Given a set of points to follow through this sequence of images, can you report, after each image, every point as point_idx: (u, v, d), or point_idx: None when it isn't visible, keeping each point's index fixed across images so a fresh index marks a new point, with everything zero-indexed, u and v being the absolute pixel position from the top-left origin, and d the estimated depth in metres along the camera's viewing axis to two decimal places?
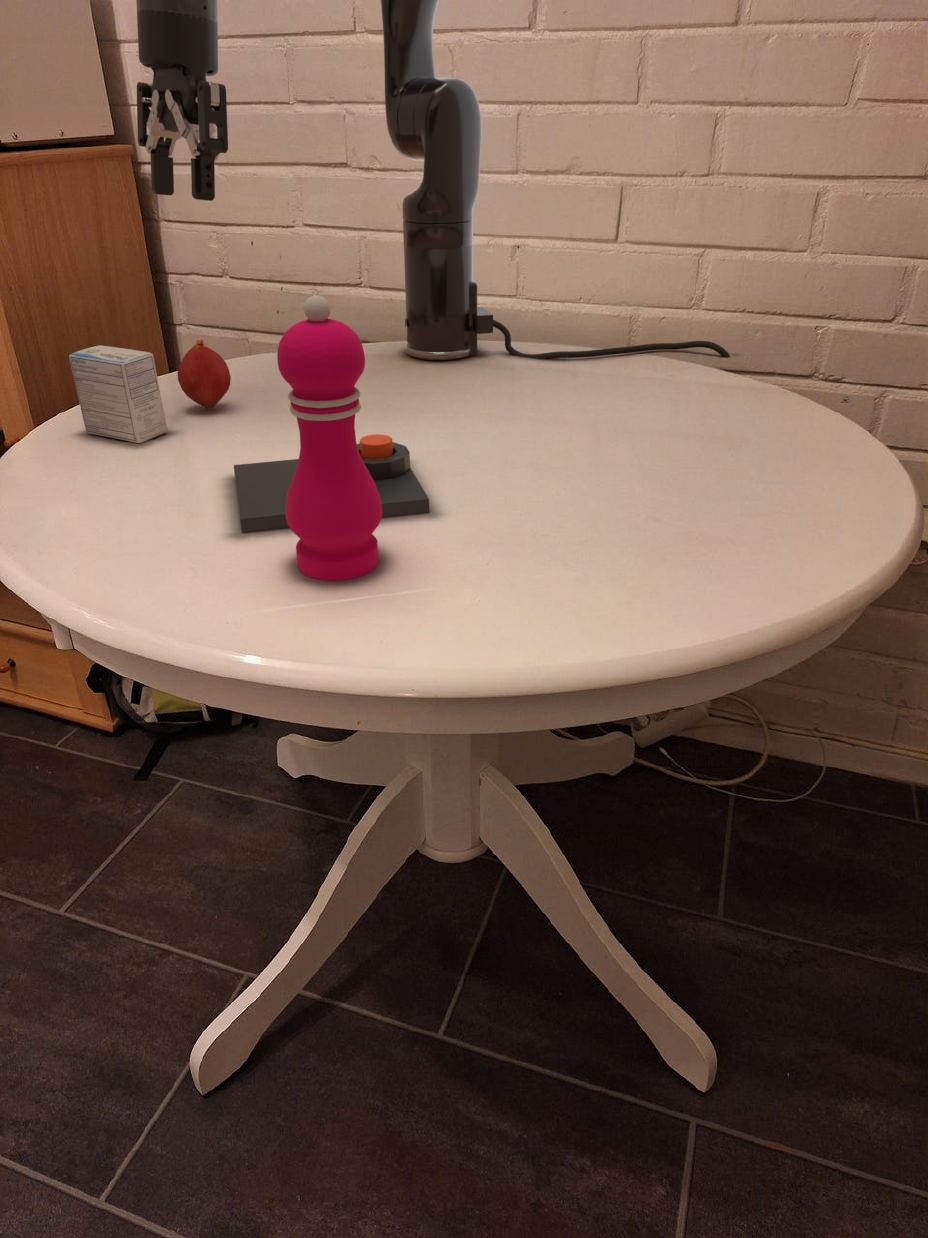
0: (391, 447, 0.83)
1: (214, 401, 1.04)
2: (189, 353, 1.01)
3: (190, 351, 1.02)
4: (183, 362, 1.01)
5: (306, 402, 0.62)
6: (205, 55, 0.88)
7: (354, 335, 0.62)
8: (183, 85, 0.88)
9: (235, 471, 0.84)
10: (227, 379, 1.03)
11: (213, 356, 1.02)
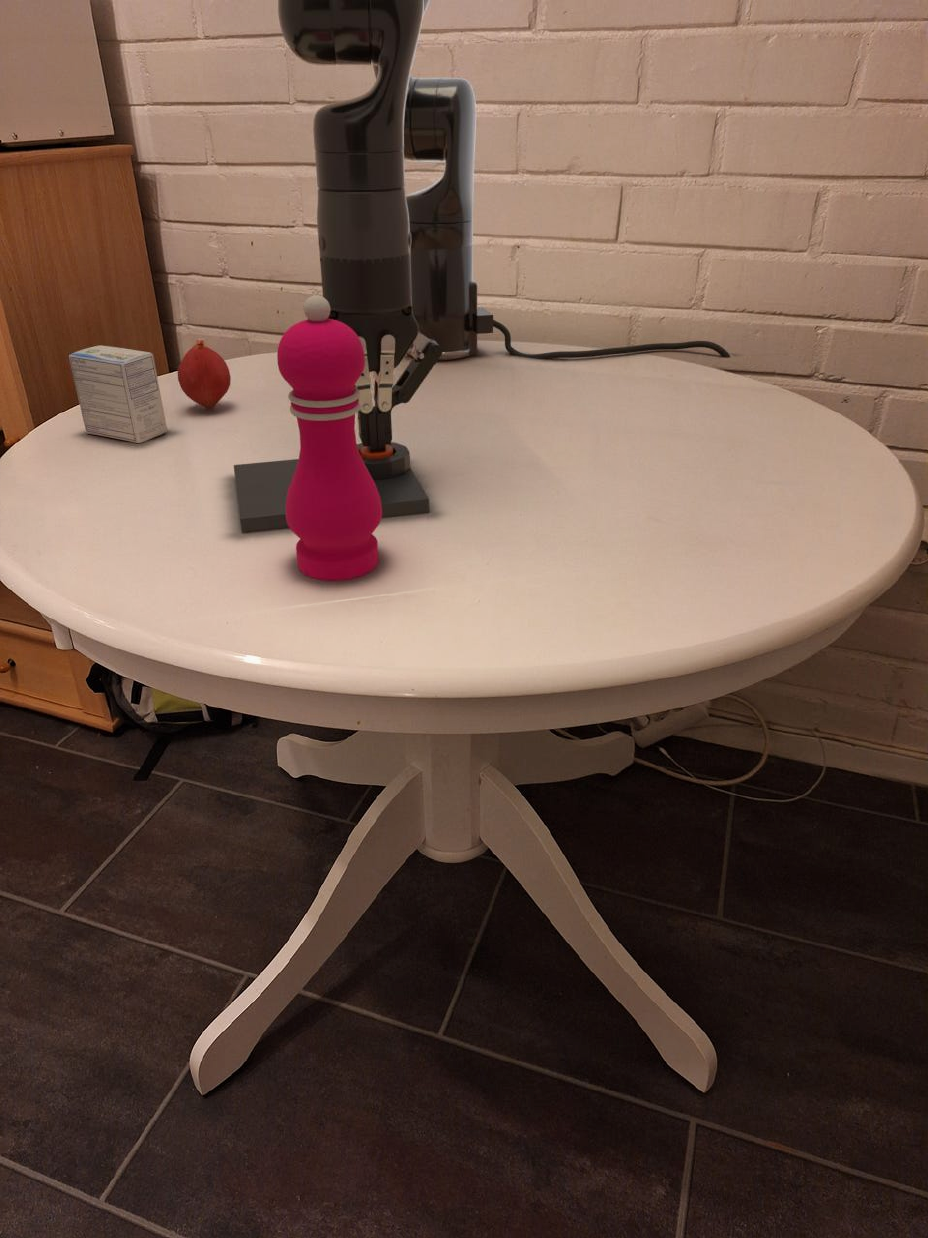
0: None
1: (214, 401, 1.04)
2: (189, 353, 1.01)
3: (190, 351, 1.02)
4: (183, 362, 1.01)
5: (306, 402, 0.62)
6: None
7: (354, 335, 0.62)
8: (404, 325, 0.78)
9: (235, 471, 0.84)
10: (227, 379, 1.03)
11: (213, 356, 1.02)
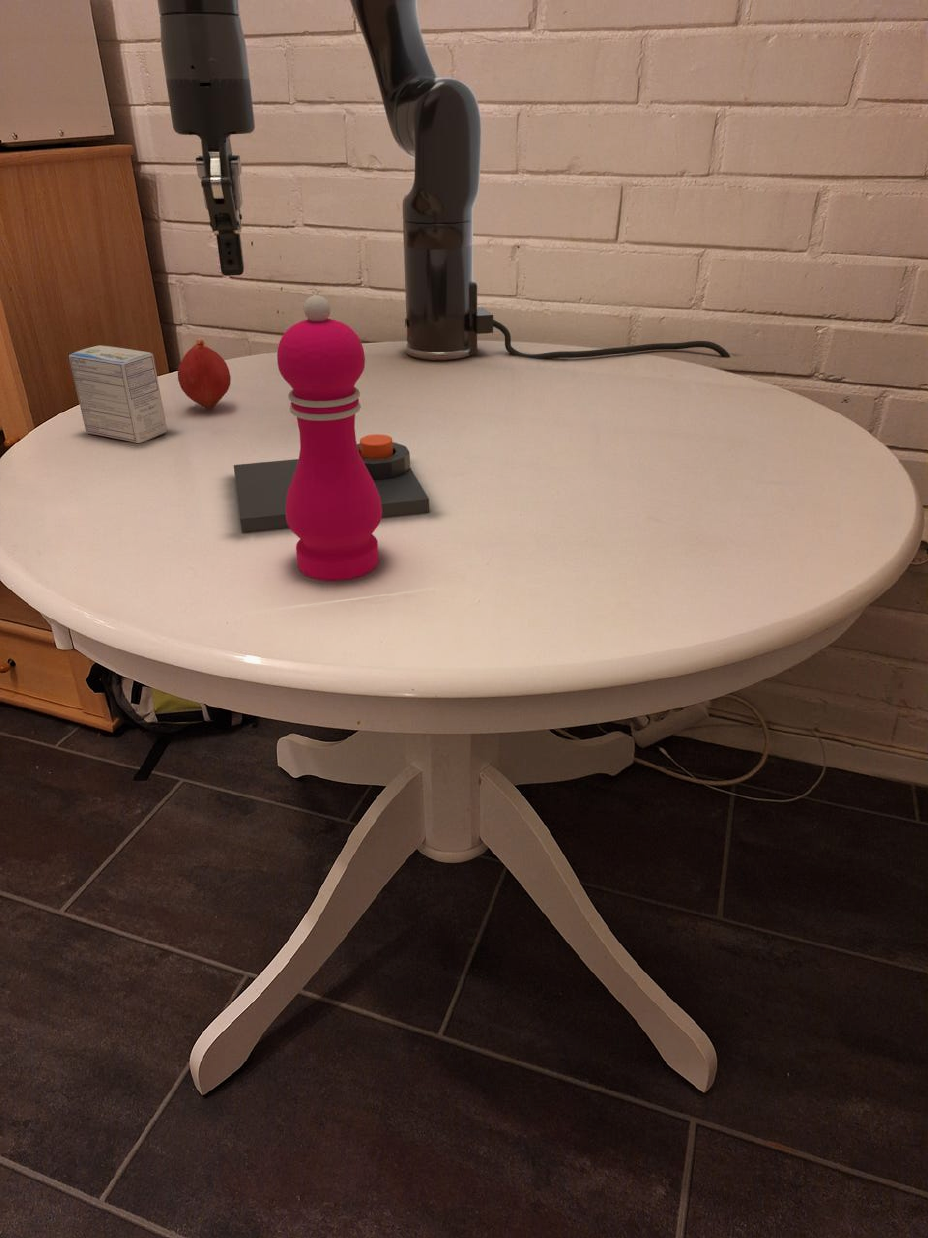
0: (391, 447, 0.83)
1: (214, 401, 1.04)
2: (189, 353, 1.01)
3: (190, 351, 1.02)
4: (183, 362, 1.01)
5: (306, 402, 0.62)
6: None
7: (354, 335, 0.62)
8: None
9: (235, 471, 0.84)
10: (227, 379, 1.03)
11: (213, 356, 1.02)
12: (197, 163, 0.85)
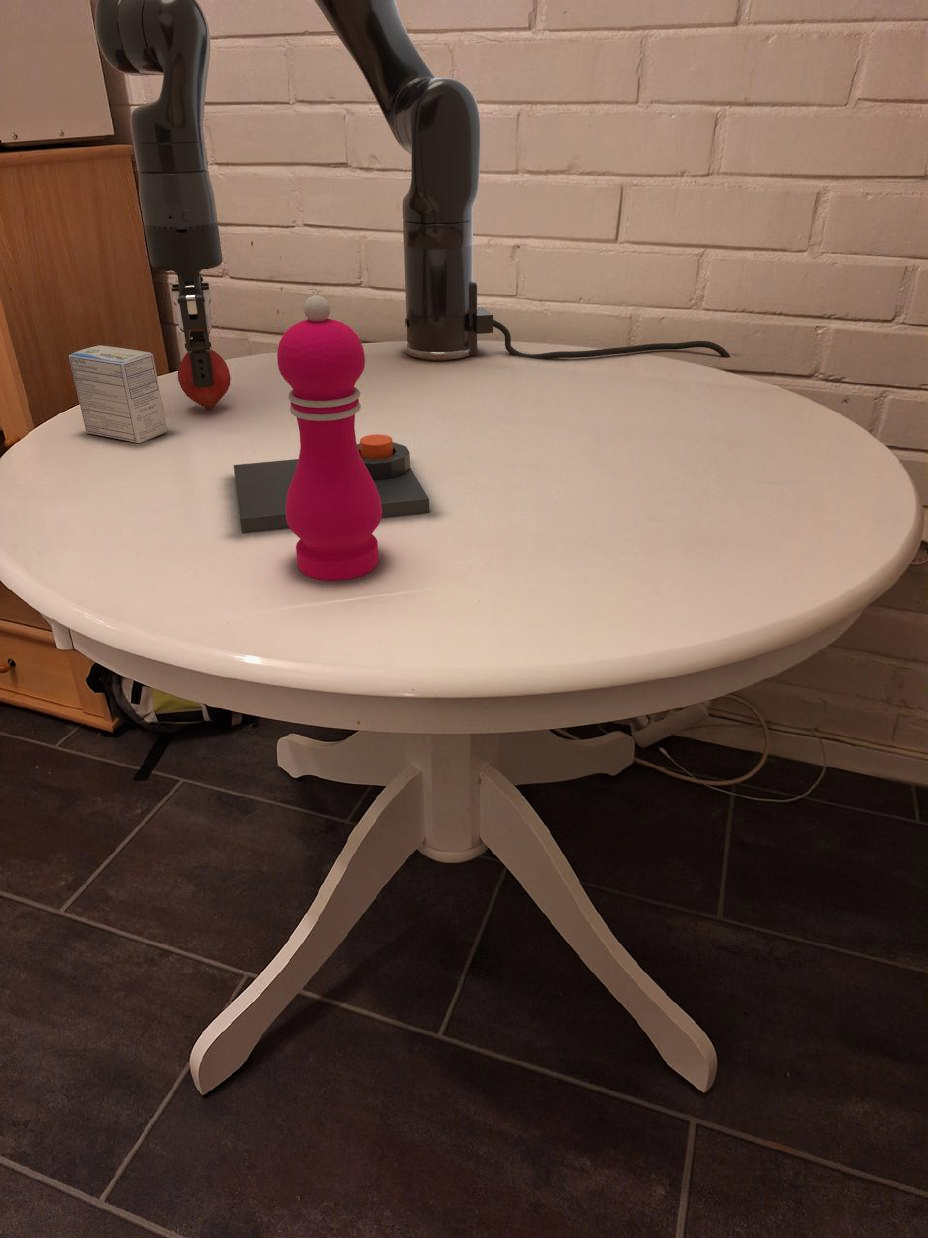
0: (391, 447, 0.83)
1: (214, 401, 1.04)
2: None
3: None
4: (183, 362, 1.02)
5: (306, 402, 0.62)
6: None
7: (354, 335, 0.62)
8: None
9: (235, 471, 0.84)
10: (227, 379, 1.03)
11: (213, 356, 1.02)
12: (173, 291, 0.97)
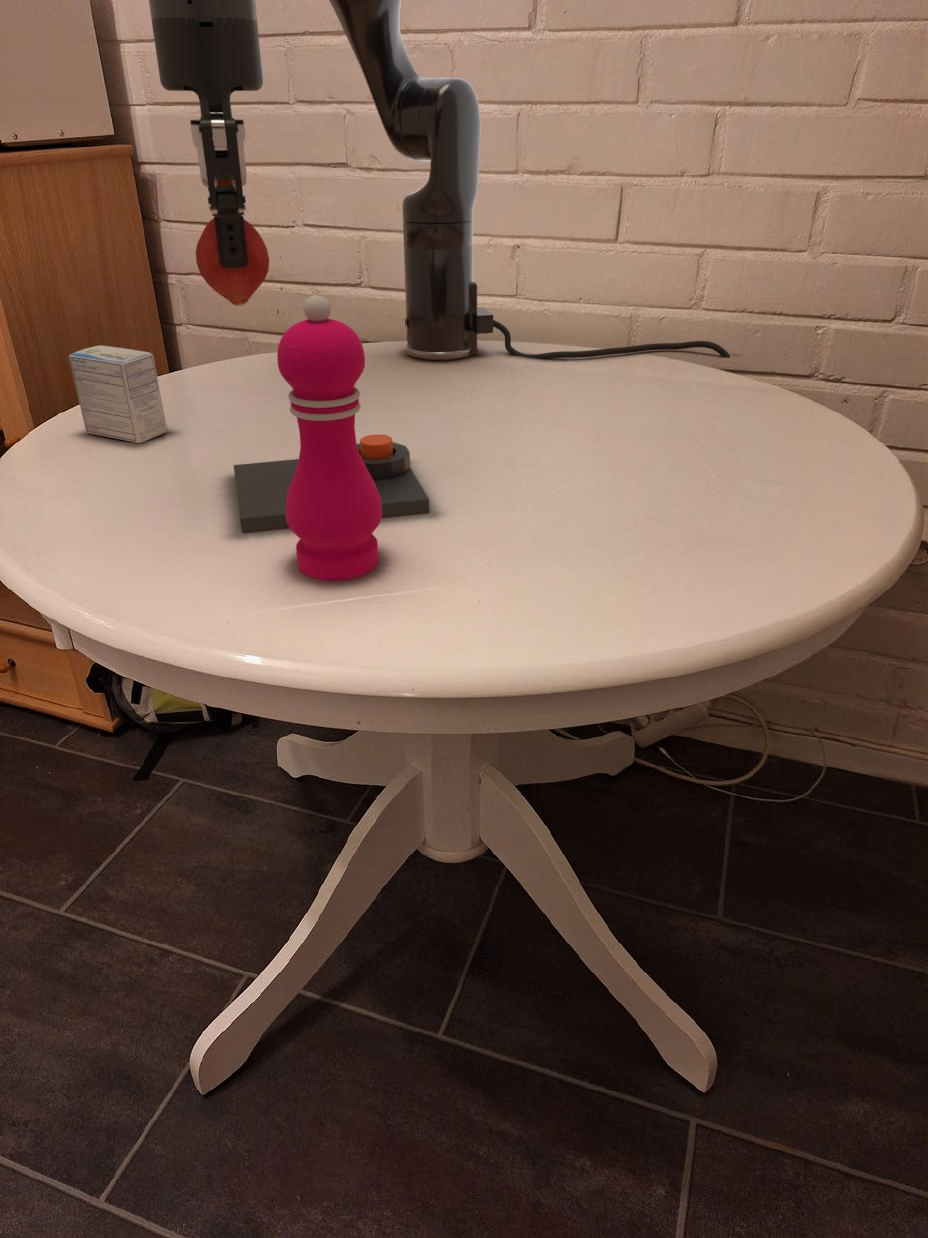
0: (391, 447, 0.83)
1: (246, 293, 0.75)
2: (213, 221, 0.72)
3: None
4: (204, 234, 0.72)
5: (306, 402, 0.62)
6: None
7: (354, 335, 0.62)
8: None
9: (235, 471, 0.84)
10: (265, 260, 0.74)
11: (246, 227, 0.73)
12: (192, 123, 0.68)
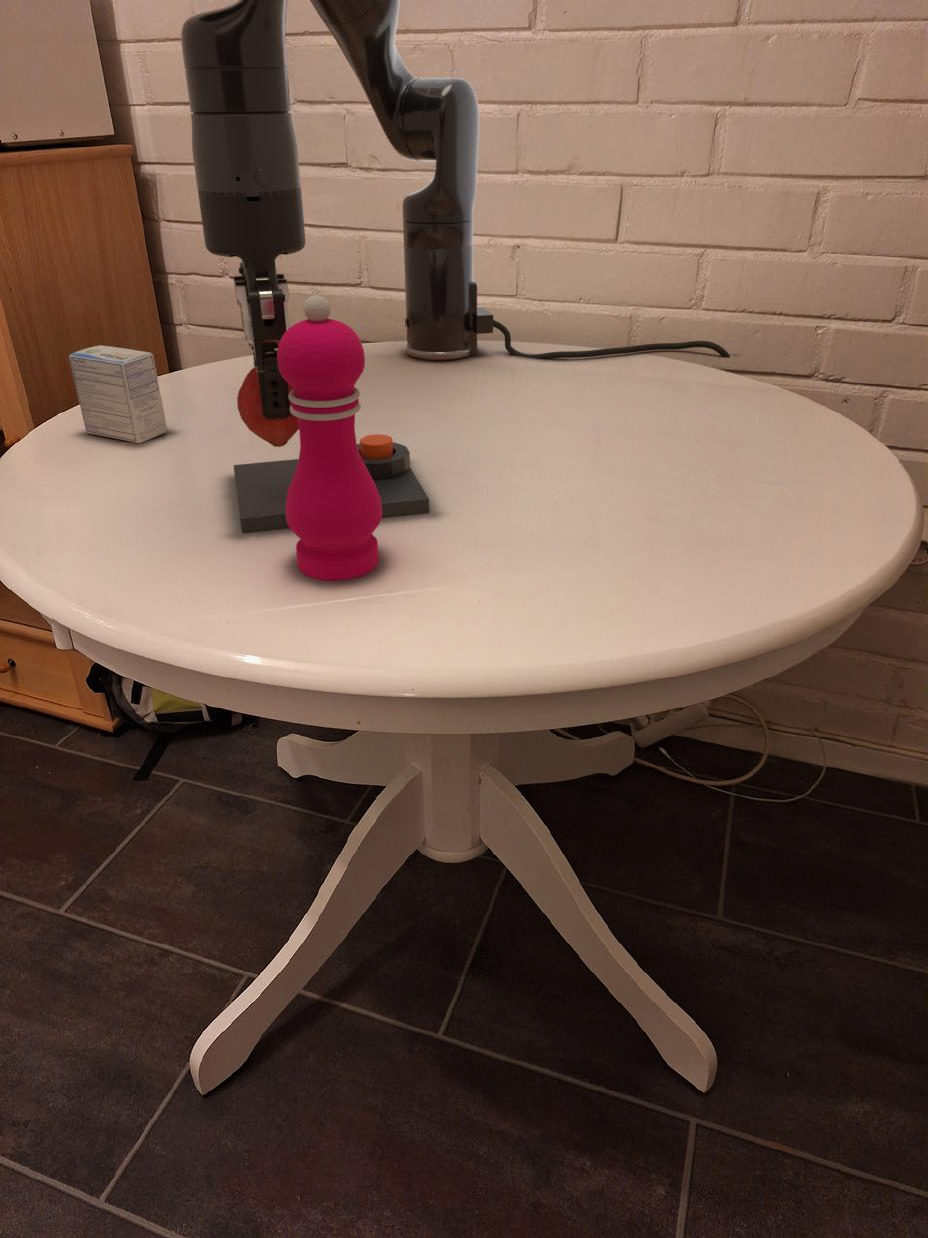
0: (391, 447, 0.83)
1: (287, 437, 0.76)
2: (255, 371, 0.73)
3: None
4: (246, 384, 0.73)
5: (306, 402, 0.62)
6: None
7: (354, 335, 0.62)
8: None
9: (235, 471, 0.84)
10: None
11: None
12: (237, 285, 0.69)
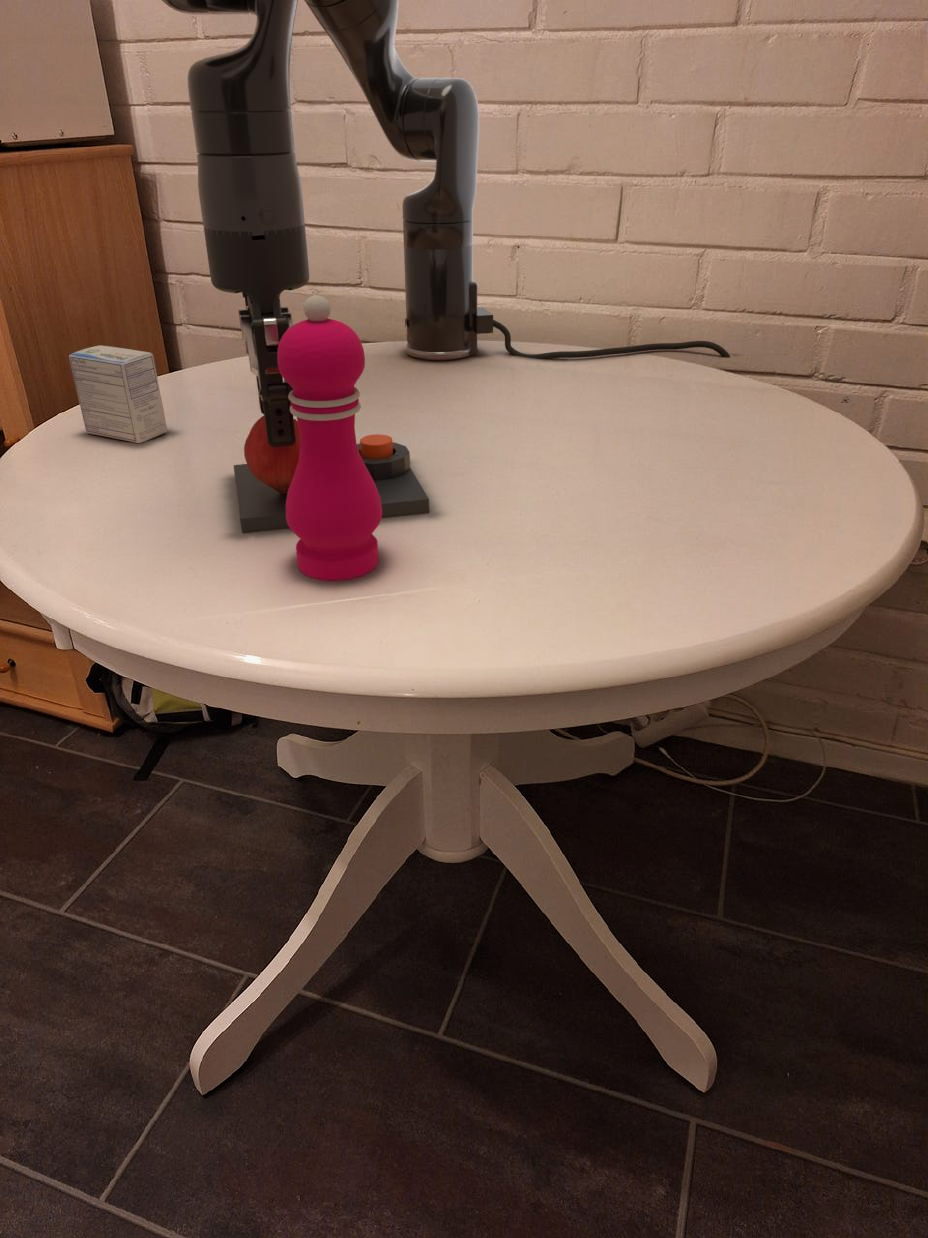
0: (391, 447, 0.83)
1: None
2: (261, 422, 0.75)
3: (262, 420, 0.76)
4: (253, 435, 0.75)
5: (306, 402, 0.62)
6: None
7: (354, 335, 0.62)
8: None
9: (235, 471, 0.84)
10: None
11: None
12: (242, 319, 0.70)
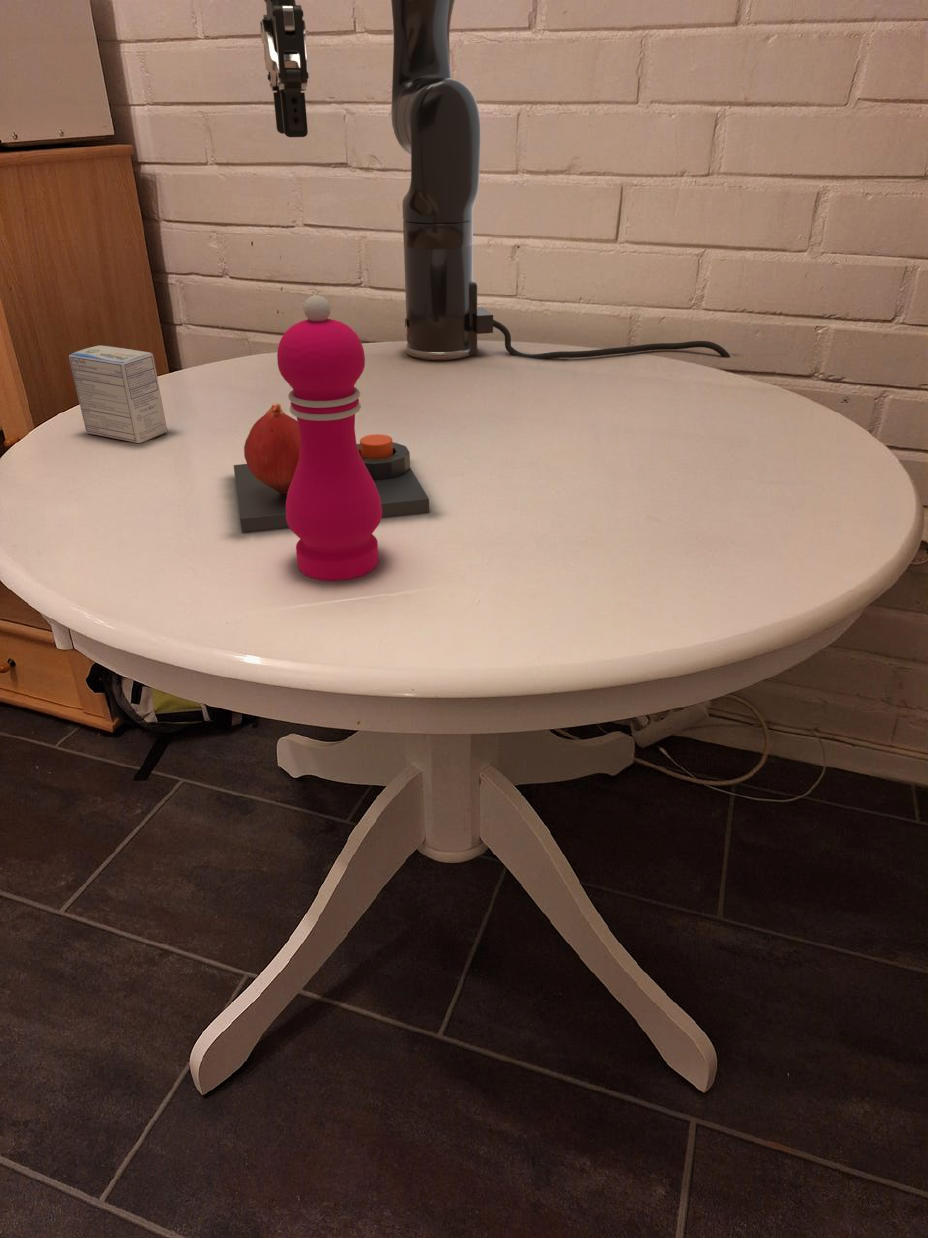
0: (391, 447, 0.83)
1: None
2: (261, 422, 0.75)
3: (262, 420, 0.76)
4: (253, 435, 0.75)
5: (306, 402, 0.62)
6: None
7: (354, 335, 0.62)
8: None
9: (235, 471, 0.84)
10: None
11: (293, 427, 0.76)
12: (263, 20, 0.84)
